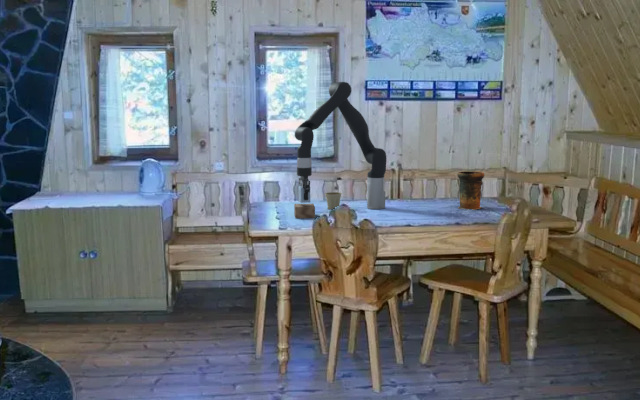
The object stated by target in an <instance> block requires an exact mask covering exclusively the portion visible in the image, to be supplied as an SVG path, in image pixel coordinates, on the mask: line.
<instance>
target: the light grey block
mask: <svg viewBox="0 0 640 400" xmlns="http://www.w3.org/2000/svg"><path fill="white" fill-rule="evenodd" d="M304 187H305V186H304ZM297 189H298V193H297V194H298V203H299V204H310V203H311V191H310V192H309V193H308V200H304V192H303V187H302V186H299V185H298V187H297ZM306 190H307V188H306Z"/></svg>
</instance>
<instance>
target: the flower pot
mask: <svg viewBox="0 0 640 400" xmlns="http://www.w3.org/2000/svg"><path fill="white" fill-rule="evenodd" d="M342 194H343V192H336V191H333V192H331V191H329V192H325V193H324V195H325V198H326V204H327V205H326V206H327V210H330V209H332V210H334V209H333V208H335V207H337V206H339V207H340V203H341V197H342Z"/></svg>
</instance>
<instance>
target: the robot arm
mask: <svg viewBox="0 0 640 400" xmlns="http://www.w3.org/2000/svg"><path fill="white" fill-rule="evenodd" d="M328 94H329V97H330V98H328V99H327V100H326V101H325V102H323V103H322V104H321V105H320V106H319V107H317V108H316V109H315V110H314V111H313V112H312V113H311V115H310V116H309V117H308V118H307V119H306V120H304V121H303V122H302V123H301V124H300V125H298V126H297V128H296V130H295V132H294V138H295V139H296V140H297V141H299V142H301V143H300V145H299V146H298V147H297V150H296V155H297V158H296V176H297V177H299V178H298V186H302V187H303V192H304V200H308V193H309V192H310V193H311V181H310V180H309V177H311V176H312V174H313V173H312V172H313V171H312V170H313V169H312V167H313V166H312V147H313V144H314V143H313V141H314V138H315V137H314V131H315V130H317V129H319V128H320V127H321V126H322V124H323V123H324V122H325V121H326V120H327V118H328V117H329V116H330V115H331V114H332V113H333V112H334V111H335V110H336V109H337V108H338V110H339V112H340V113H341V115H342V117H343V119H344V120H345V122H346V124H347V126H348V127H349V130H350V132H351V133H352V135H353V137H354V138H355V141H356V143H358V145H359V147H360V150H361V153H362V155H363V157H364V159H365V161H366V163H368V164H369V165H371V169H370V170H369V171H368V172H367V178H366V179H367V182H366V183H367V184H366V185H367V186H366V187H367V188H366V191H367V193H366V198H367V199H366V200H367V201H366V208H367V209H368V210H369V209H370V210H381V209H386V191H385V174H386V172H387V171H386V170H387V152H386V151H385V150H384V149H383V148H380V147H379V148H378V147H375V146H374V144H373V142H372V140H371V138H370V133H369V132H370V131H369V125H368V123H367V121H366V120H365V118H364V116H363V115H362V113H361V112H360V111H359V110H358V109H356V107H354V106H353V104H352V103H351V102H350V101H349V99H348V98H349V97H350V96H351V95H352V86H351V84H350V83H349V82H347V81H338V82H333V83H331V84H330V85H329V86H328ZM304 186H305V187H304ZM306 188H307V190H306Z"/></svg>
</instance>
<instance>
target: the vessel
mask: <svg viewBox="0 0 640 400" xmlns="http://www.w3.org/2000/svg"><path fill="white" fill-rule="evenodd" d="M457 177H458V180H459V206H457V207H458V209H461V210H469V209H472V210H471V211H474V210H480V209H482V207H481V197H482V184H483V179H484V177H485V173H484V172H482V171H475V170H472V171H468V170H467V171H466V170H465V171H459V172H458V173H457ZM469 211H470V210H469Z"/></svg>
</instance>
